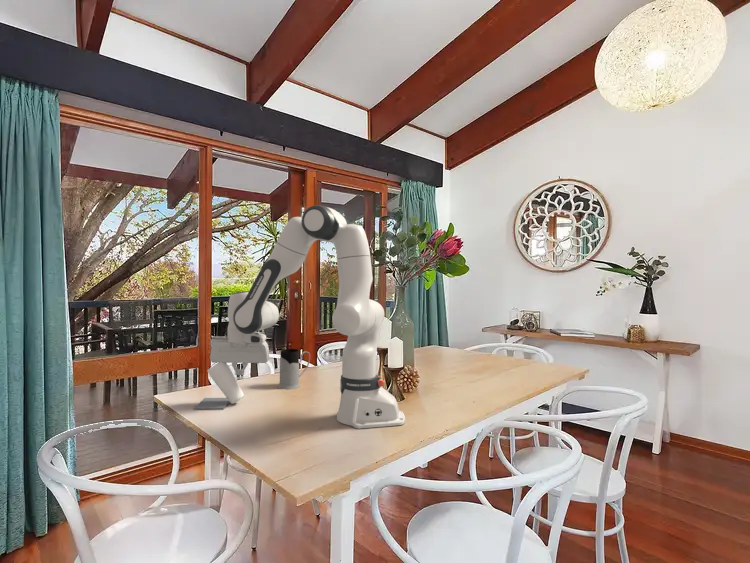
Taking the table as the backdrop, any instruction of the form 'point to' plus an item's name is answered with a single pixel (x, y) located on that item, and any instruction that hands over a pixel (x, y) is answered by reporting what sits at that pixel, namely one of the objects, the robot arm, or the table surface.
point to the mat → (212, 404)
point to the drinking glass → (226, 382)
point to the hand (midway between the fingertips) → (239, 374)
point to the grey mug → (290, 368)
